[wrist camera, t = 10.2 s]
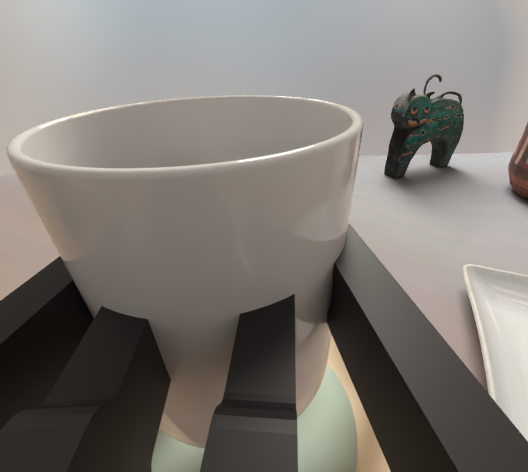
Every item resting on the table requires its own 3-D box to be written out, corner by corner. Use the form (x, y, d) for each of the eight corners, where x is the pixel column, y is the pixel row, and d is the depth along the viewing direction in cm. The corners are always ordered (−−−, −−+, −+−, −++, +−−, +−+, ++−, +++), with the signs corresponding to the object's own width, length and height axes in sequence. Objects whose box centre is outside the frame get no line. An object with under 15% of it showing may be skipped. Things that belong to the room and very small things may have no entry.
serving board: (37, 548, 17) (15, 537, 16) (203, 308, 33) (199, 292, 31) (395, 791, 11) (411, 807, 10) (388, 357, 27) (394, 340, 26)
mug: (339, 472, 10) (428, 169, 4) (100, 456, 11) (-137, 174, 5) (313, 261, 20) (326, 84, 14) (190, 260, 21) (153, 89, 15)
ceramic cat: (392, 181, 62) (417, 77, 51) (372, 172, 67) (390, 75, 56) (456, 167, 68) (489, 71, 57) (432, 159, 73) (459, 70, 62)
